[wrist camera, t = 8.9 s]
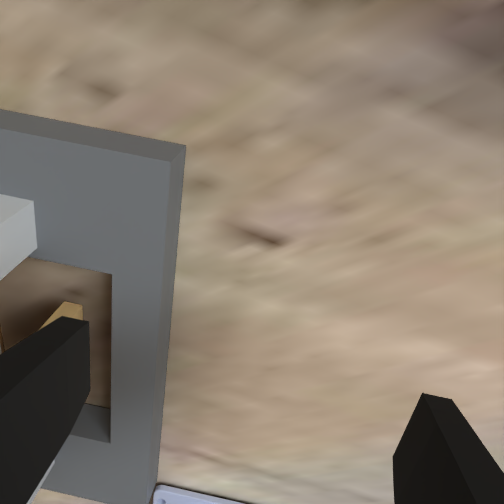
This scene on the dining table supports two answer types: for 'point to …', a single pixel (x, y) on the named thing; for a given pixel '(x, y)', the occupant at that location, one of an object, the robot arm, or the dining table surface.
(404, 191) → the dining table surface
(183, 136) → the dining table surface
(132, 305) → the grey slotted base plate
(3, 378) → the robot arm
